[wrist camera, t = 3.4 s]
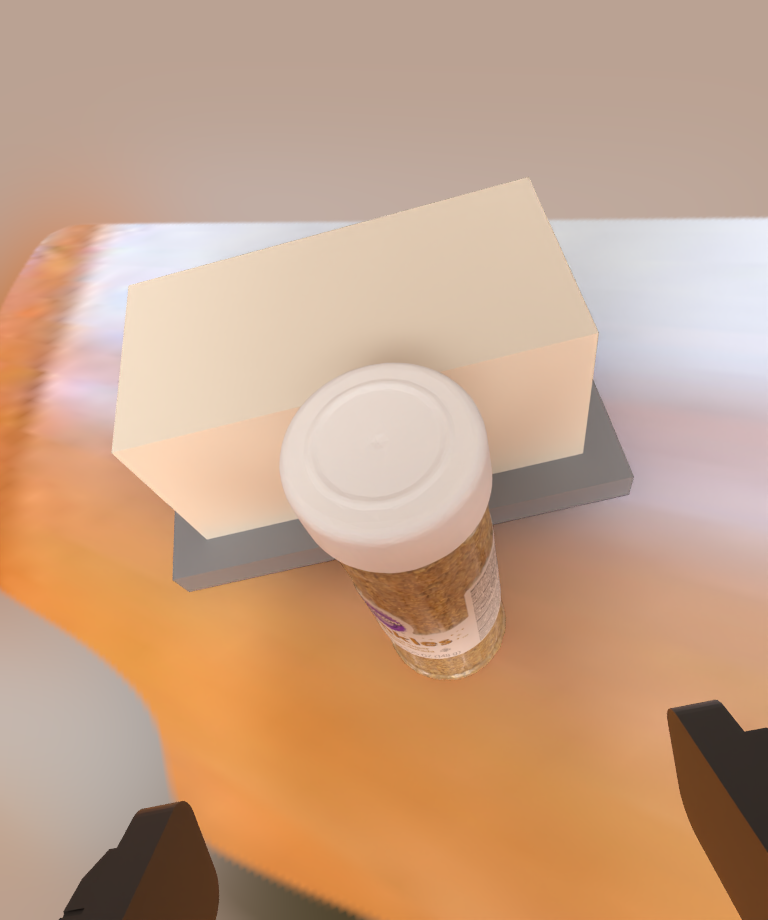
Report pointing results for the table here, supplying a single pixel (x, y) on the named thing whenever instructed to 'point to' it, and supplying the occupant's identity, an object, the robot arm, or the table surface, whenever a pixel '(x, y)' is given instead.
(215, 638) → the table surface
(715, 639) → the table surface
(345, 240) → the cream and grey block
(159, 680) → the table surface
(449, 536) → the sprinkles bottle
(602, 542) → the table surface
